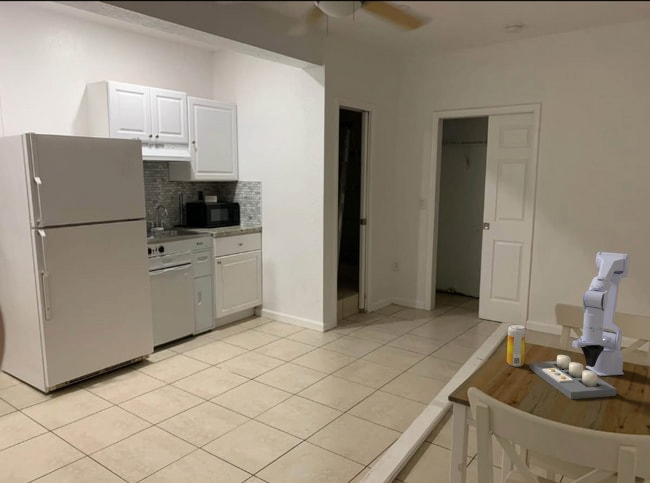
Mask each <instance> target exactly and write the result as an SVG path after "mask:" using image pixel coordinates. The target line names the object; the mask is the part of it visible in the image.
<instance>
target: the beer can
mask: <svg viewBox="0 0 650 483" xmlns="http://www.w3.org/2000/svg"><path fill="white" fill-rule="evenodd" d="M525 345H526V328H525V326H524V325H521V324H510V325H509V326H508V329H507V346H506V347H507V349H506V350H507V351H506V362H507V363H508V365H509V366H511V367H515V368H519V367H522V366H523V365H524V364H525V347H526V346H525Z"/></svg>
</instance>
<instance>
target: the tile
mask: <svg viewBox="0 0 650 483" xmlns="http://www.w3.org/2000/svg"><path fill="white" fill-rule="evenodd" d="M542 371H544V372H545V373H546V374H548V375H549V376H551V377H552V378H554V379H555V380H556V381H558V382H559V383H560V382H573V379H571V378H570V377H568V376H567V375H565V374H564V373H562V372H561V371H559V370H558V369H556V368H547V369H542Z"/></svg>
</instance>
